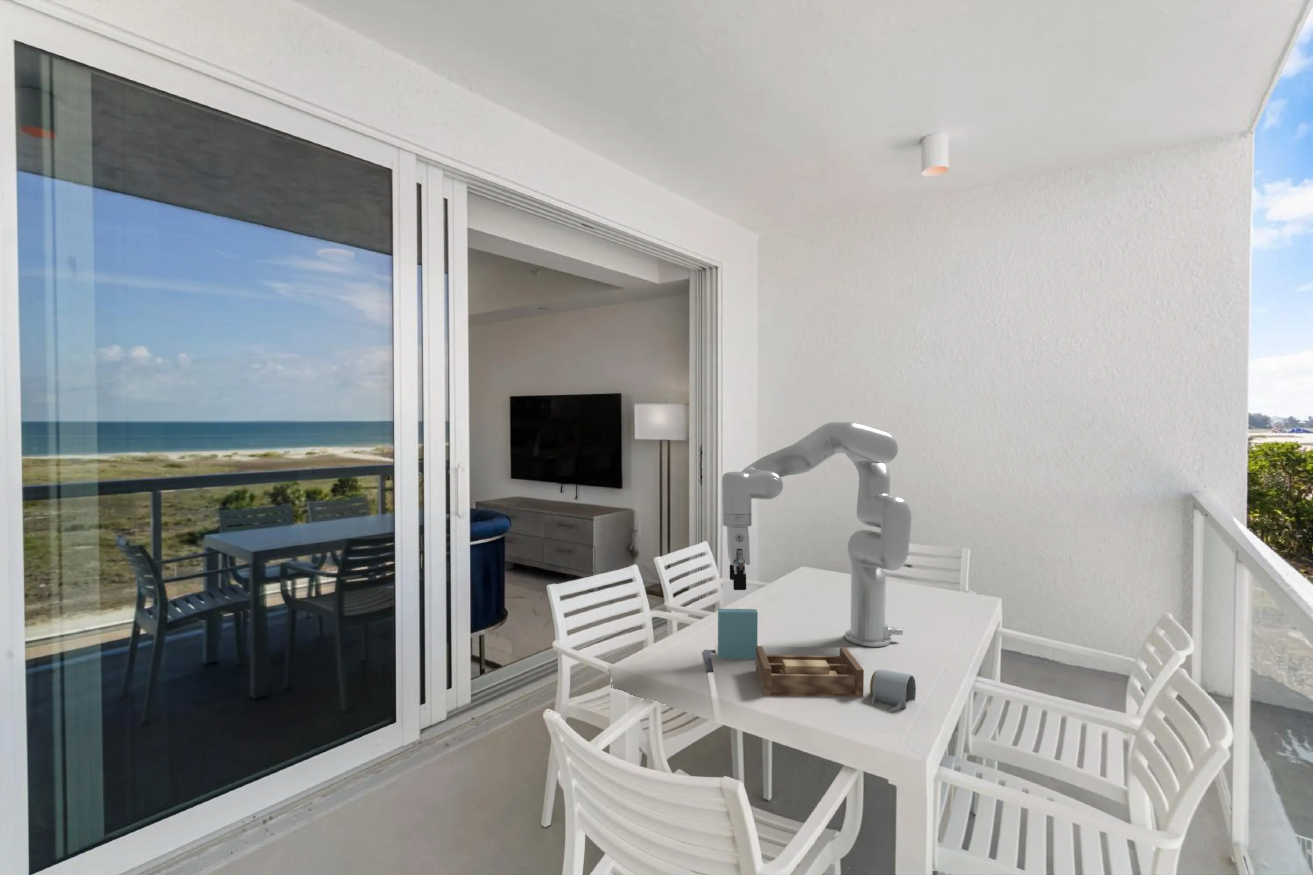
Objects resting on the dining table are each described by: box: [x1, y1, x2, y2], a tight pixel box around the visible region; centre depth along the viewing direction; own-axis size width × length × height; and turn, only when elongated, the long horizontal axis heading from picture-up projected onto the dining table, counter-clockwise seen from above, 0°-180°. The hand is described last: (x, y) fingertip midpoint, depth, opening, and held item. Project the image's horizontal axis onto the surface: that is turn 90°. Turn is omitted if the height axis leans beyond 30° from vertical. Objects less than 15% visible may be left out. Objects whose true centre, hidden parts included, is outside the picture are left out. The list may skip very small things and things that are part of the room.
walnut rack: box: [755, 645, 865, 698], centre depth 145 cm, size 22×14×8 cm, turn 89°
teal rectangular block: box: [717, 608, 759, 660], centre depth 161 cm, size 10×3×13 cm, turn 88°
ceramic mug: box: [869, 669, 917, 712], centre depth 135 cm, size 11×8×8 cm
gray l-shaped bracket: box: [703, 649, 717, 673], centre depth 161 cm, size 16×14×1 cm
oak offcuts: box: [779, 660, 837, 674], centre depth 142 cm, size 13×4×6 cm, turn 89°
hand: (737, 584), depth 161 cm, fingers open, 9 cm apart
